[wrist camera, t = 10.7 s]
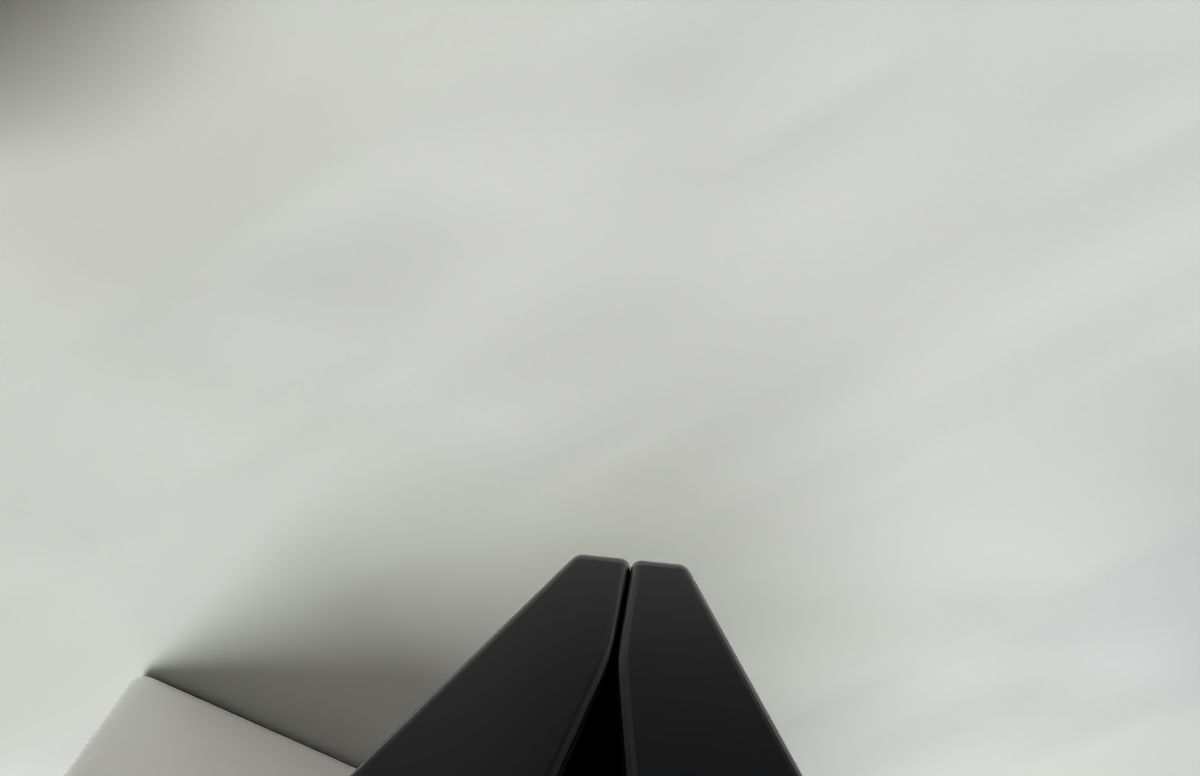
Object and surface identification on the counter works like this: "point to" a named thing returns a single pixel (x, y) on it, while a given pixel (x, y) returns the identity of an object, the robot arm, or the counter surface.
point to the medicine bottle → (190, 741)
